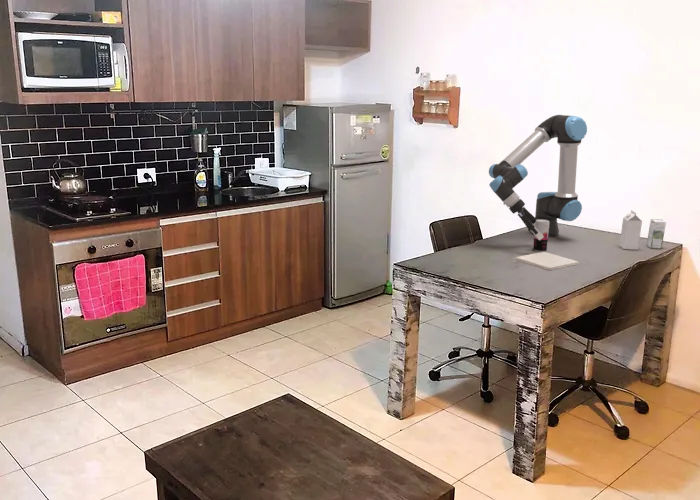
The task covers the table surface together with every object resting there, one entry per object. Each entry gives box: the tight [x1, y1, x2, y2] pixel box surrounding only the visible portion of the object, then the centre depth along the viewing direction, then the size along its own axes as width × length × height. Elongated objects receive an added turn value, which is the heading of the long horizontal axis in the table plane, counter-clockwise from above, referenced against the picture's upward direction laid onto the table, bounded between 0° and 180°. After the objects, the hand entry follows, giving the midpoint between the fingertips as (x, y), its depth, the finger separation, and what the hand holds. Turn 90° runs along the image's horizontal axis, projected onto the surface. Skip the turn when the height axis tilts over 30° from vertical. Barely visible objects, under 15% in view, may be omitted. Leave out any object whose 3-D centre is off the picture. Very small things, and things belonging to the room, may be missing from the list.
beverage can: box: [532, 219, 549, 253], centre depth 319 cm, size 7×6×15 cm
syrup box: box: [646, 218, 667, 250], centre depth 329 cm, size 6×6×14 cm
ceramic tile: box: [515, 251, 579, 271], centre depth 301 cm, size 20×20×1 cm
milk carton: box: [619, 209, 643, 251], centre depth 326 cm, size 7×7×19 cm
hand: (542, 235), depth 319 cm, fingers open, 13 cm apart
